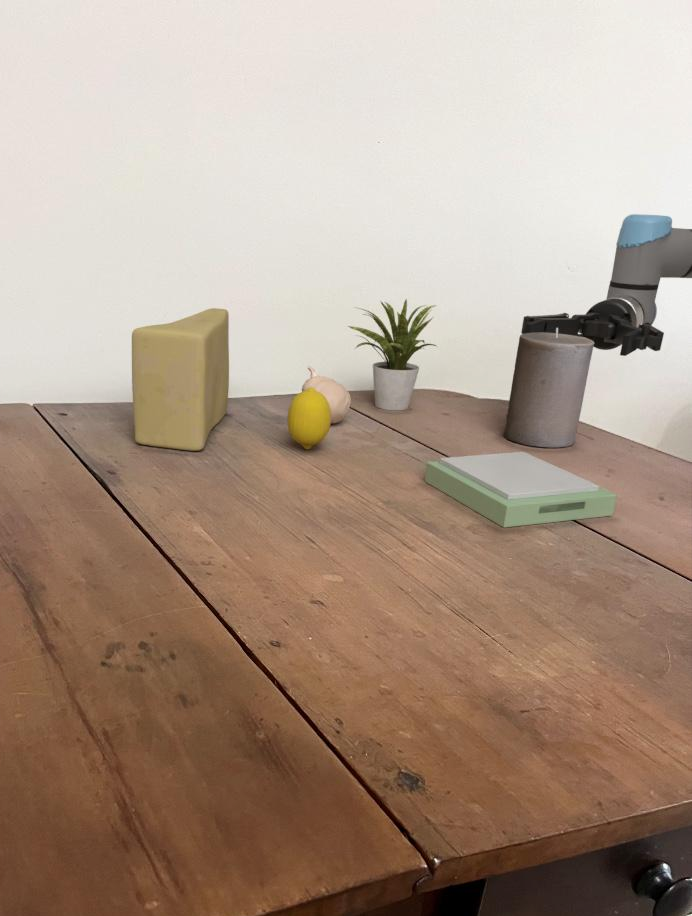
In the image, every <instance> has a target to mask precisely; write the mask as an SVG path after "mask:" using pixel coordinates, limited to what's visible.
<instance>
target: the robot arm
mask: <svg viewBox="0 0 692 916" xmlns="http://www.w3.org/2000/svg"><path fill="white" fill-rule="evenodd" d="M615 246H616V249H615V253H614V258H613V259H614V261H613V267H612V272H611V277H610V281H609V284H608V288H607V289H608V290H607V294H606V299H604V300H602V301H598V302H597V303H595V304H594V305H592V306H591V307H590V308H589V309H588V310H587V311H586V313H585V314H573V315H572V316H571V317H570V315H569V313H567V312H563V313H558V314H557V313H556V314H544V315H526V316H523V320H522V325H521V331H520V334H525V333H539V332H543V333H556V328H558V334H567V335H573V336H578V337H585V338H588V339H590V340H592V341H593V342H594V346H593V348H595V349H598V350H601V351H611V350H613V349H616V348H618V347H620V346H621V347H620V353H619V356H622V357H626V356H628V355H630V354H632V353H633V352H635V351H636V350H637V349H638V350H640V351H643V350H646V349H647V348H648V349H650V350H652V351H654V352H659V351H661V348H662V343H663V339H664V335H665V332H664V331H662V330H660V329H658V328H657V327H655V326H653V324H654V322H655V320H656V319H657V313H658V310H657V309H658V308H657V303H656V299H657V295H658V289H659V286H660V281H661V278H664V279H666V278H667V279H692V228H682V227H681V228H678V227H673V219H672V217H671V216H669V215H662V214H637V213H636V214H634V213H633V214H628V215H627V216H626V217H624V218H623V221H622V223H621V227H620V229H619V233H618V236H617V241H616V245H615Z"/></svg>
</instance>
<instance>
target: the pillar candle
mask: <svg viewBox="0 0 692 916" xmlns="http://www.w3.org/2000/svg"><path fill="white" fill-rule="evenodd" d="M593 346H594V342H593V341H592V340H590V339H588V338H585V337H578V336H573V335H567V334H558V328H556V333H543V332H539V333H525V334H522V333H520V335H519V338H518V345H517V349H516V350H517V351H516V355H515V356H516V358H515V362H514V363H515V364H514V370H513V375H512V382H511V388H510V395H509V399H508V406H507V414H506V418H505V428H504V430H503V433H502V435H503V437H504V438H505V439H507V440H509V441H511V442H514V443H517V444H521V445H525V446H530V447H539V448H550V449H551V448H556V449H557V448H567V447H570V446H573V445H574V444H575V442H576V437H577V433H578V432H577V431H578V427H579V421H580V418H581V412H582V408H583V402H584V396H585V391H586V387H587V381H588V376H589V371H590V365H591V360H592V355H593V350H594V347H593Z"/></svg>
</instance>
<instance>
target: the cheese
mask: <svg viewBox="0 0 692 916" xmlns="http://www.w3.org/2000/svg"><path fill="white" fill-rule="evenodd" d="M229 315H230V314H229V311H228V310H227V309H225V308H216V307H213V308H211V307H210V308H207V309H205V310H202V311H200V312H198V313H195V314H191V315H189V316H187V317H184V318H180V319H178V320H175V321H172V322H168V323H162V324H161V323H160V324H151V325H146V326H140V327H137V328H136V327H135V328H134V329H133V331H132V332H131V389H132V408H133V426H134V427H133V428H134V440H135V442H136V443H137V444H140V445H144V446H150V447H157V448H164V449H173V450H180V451H189V452H190V451H191V452H198V451H202V450H203V449H204V448H205V445H206V443H207V440H208V437H209V434H210V433H211V431H212V430H213V428H214V427H215V426H217V425H218V423H219V422H221V421H222V419H223V418H224V416H225V415H227V411H228V403H229V389H230V388H229V387H230V348H229V347H230V346H229V345H230V343H229V335H230V334H229V329H230V328H229V327H230V326H229V323H230V322H229V320H230V316H229Z"/></svg>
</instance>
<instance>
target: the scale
mask: <svg viewBox="0 0 692 916" xmlns="http://www.w3.org/2000/svg"><path fill="white" fill-rule="evenodd" d="M424 482H425V483H426V484H428V485H430V486H431V487H434V488H435V489H437V490H438V491H440V492H442V493H443V494H446V496H449V497H450V498H451V499H454V500H456V501H457V502H459V503H461V504H462V505H464V506H466V507H468V508H469V509H471V510H472V511H474V512H476V513H478V514H479V515H481V516H483V517H485V519H488V520H489V521H491V522H492V523H495V524H497V525H498V526H500V527H502V528H513V527H523V526H532V525H533V526H534V525H540V524H549V523H550V524H551V523H558V522H567V521H568V522H569V521H577V520H585V519H594V518H603V517H612V516H613V515H614V511H615V506H616V502H617V497H618V495H617V494H616V493H614V492H611V491H610V490H607V489H605V488H603V487H601V486H600V485H598V484H596V483H594V482H592V481H589V480H587V479H585V478H583V477H581V476H579V475H576V474H574V473H572V472H569V471H567V470H566V469H563V468H560V467H559V466H556V465H553V464H551V463H550V462H548V461H545V460H544V459H543V460H542V459H540V458H539V457H536V456H534V455H532V454H529V453H528V452H525V451H515V452H514V451H513V452H501V453H489V454H476V455H465V456H464V455H463V456H452V457H440V458H439V460H436V461H427V462H426V466H425V476H424Z"/></svg>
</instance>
